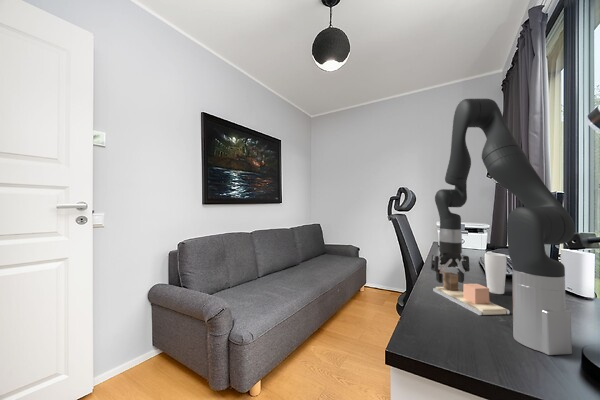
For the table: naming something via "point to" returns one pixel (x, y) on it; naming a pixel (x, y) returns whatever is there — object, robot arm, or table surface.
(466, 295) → the terracotta block
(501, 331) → the table surface
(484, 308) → the birch strip
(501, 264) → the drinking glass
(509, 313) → the guide rails
